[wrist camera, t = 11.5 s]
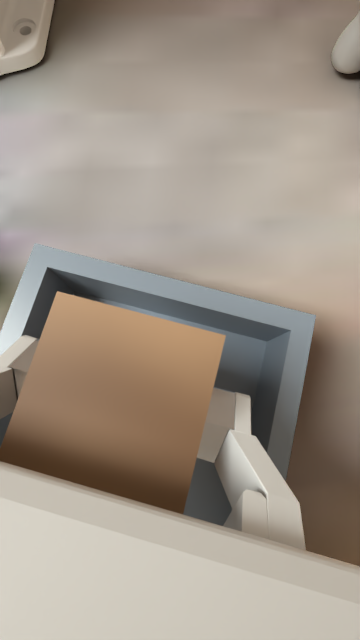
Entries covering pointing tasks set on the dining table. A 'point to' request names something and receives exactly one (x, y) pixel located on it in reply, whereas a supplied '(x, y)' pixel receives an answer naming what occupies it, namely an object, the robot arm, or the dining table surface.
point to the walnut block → (115, 401)
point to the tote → (197, 311)
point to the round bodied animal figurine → (348, 48)
